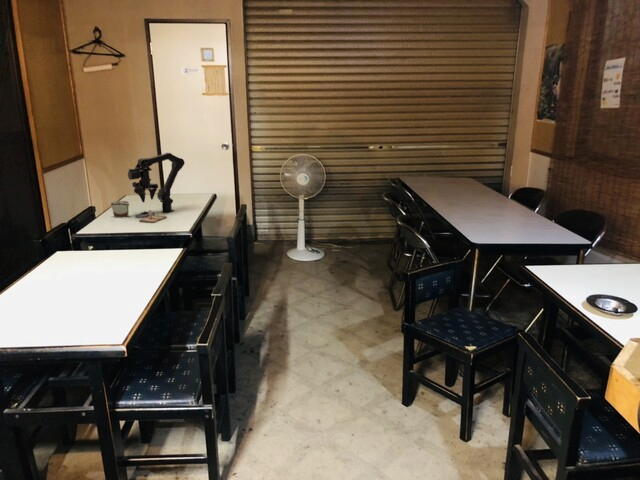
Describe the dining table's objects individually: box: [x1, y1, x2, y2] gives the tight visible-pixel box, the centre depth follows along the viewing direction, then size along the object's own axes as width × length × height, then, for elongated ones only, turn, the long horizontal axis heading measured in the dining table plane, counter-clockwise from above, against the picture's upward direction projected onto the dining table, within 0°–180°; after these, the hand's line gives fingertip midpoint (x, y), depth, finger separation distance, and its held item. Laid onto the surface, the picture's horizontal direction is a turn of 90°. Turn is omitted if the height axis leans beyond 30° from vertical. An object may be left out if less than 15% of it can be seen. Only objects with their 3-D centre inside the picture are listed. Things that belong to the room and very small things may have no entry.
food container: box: [110, 200, 130, 218], centre depth 332 cm, size 12×6×10 cm, turn 84°
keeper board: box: [138, 209, 167, 224], centre depth 322 cm, size 14×11×7 cm
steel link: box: [134, 210, 156, 219], centre depth 332 cm, size 10×8×2 cm
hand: (147, 200), depth 334 cm, fingers open, 9 cm apart
